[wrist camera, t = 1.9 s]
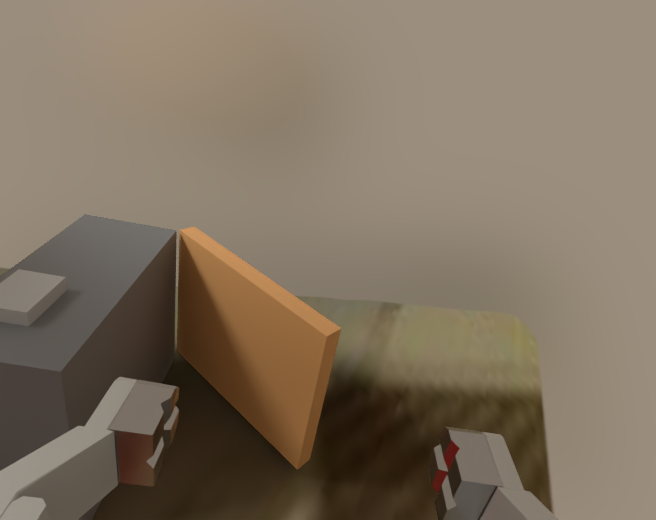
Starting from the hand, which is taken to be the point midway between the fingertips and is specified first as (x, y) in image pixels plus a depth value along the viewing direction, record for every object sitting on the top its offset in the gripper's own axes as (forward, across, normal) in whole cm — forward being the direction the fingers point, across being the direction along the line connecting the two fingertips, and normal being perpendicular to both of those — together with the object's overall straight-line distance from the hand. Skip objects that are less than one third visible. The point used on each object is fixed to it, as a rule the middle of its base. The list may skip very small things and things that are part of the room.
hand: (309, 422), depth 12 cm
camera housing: (+18, +17, +24) cm, 34 cm away
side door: (+23, +5, +23) cm, 33 cm away
